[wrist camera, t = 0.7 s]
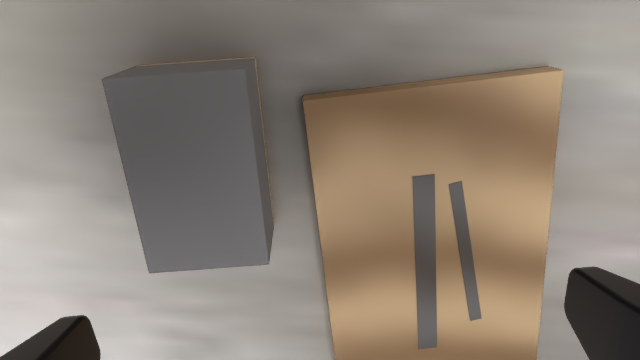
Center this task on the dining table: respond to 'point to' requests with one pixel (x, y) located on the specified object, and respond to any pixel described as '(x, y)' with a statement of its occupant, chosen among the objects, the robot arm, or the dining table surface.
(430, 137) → the oak board
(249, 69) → the block
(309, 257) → the dining table surface
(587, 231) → the dining table surface
